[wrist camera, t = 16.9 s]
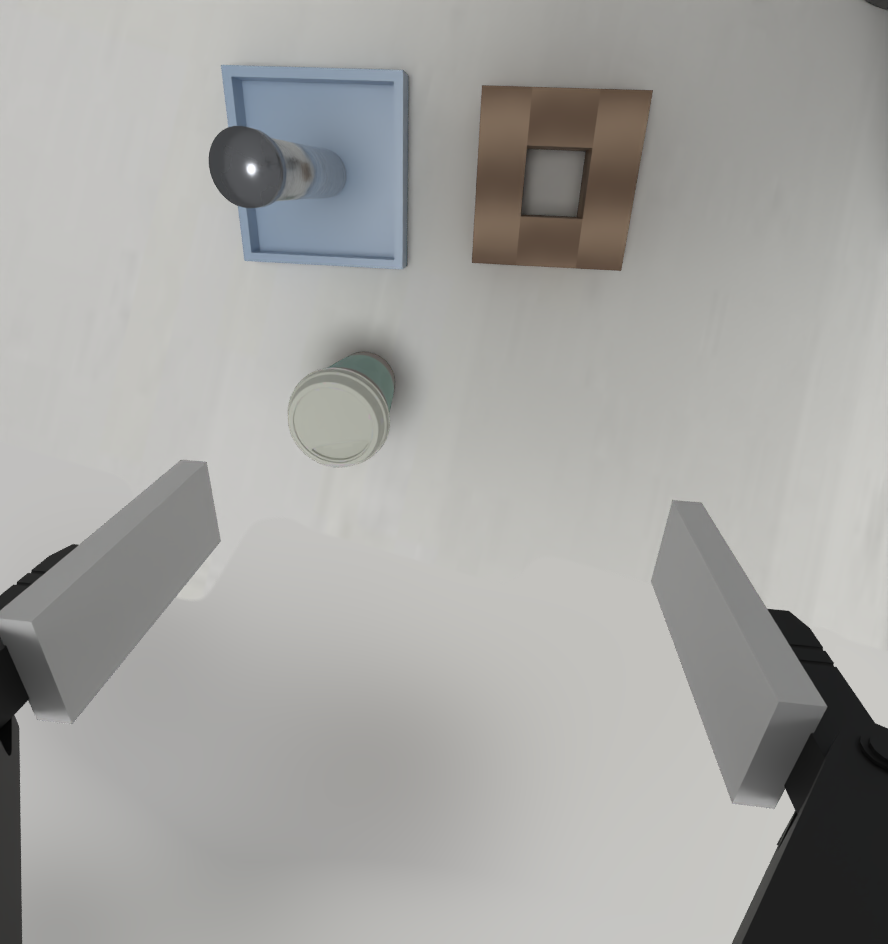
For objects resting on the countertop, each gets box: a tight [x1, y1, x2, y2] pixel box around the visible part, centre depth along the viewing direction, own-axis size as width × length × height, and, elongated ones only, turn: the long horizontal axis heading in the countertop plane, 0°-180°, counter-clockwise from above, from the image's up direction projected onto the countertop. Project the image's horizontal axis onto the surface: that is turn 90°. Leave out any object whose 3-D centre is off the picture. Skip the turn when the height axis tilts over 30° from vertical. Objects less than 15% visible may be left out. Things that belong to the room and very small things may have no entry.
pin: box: [209, 126, 346, 208], centre depth 39 cm, size 4×4×16 cm
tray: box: [221, 65, 408, 269], centre depth 46 cm, size 14×14×2 cm
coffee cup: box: [288, 352, 395, 467], centre depth 50 cm, size 9×9×12 cm
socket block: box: [472, 85, 653, 271], centre depth 44 cm, size 12×12×4 cm
